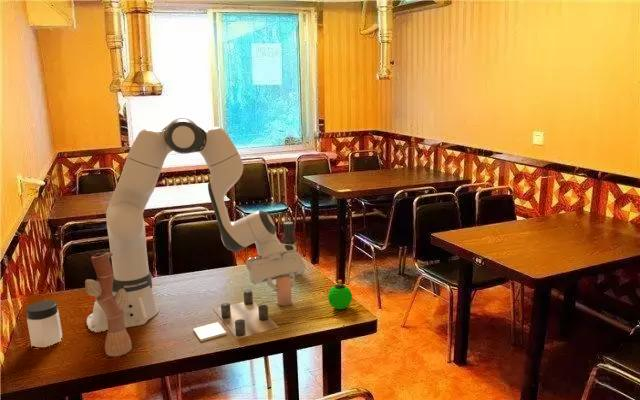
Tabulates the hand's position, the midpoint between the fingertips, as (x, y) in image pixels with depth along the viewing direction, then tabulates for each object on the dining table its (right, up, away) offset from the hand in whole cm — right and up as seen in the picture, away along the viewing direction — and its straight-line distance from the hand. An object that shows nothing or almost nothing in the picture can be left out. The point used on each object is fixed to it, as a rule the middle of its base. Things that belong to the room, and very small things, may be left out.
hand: (284, 288), depth 176 cm
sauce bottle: (0, +2, +33) cm, 33 cm away
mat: (-22, -11, -18) cm, 30 cm away
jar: (-71, -13, -20) cm, 75 cm away
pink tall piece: (-48, -14, -26) cm, 56 cm away
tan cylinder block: (0, -5, +2) cm, 5 cm away
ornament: (+19, -6, -3) cm, 20 cm away
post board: (-12, -9, -8) cm, 17 cm away
